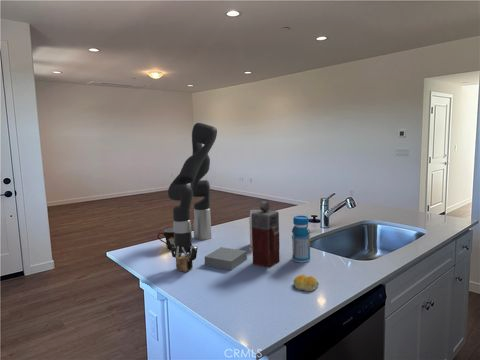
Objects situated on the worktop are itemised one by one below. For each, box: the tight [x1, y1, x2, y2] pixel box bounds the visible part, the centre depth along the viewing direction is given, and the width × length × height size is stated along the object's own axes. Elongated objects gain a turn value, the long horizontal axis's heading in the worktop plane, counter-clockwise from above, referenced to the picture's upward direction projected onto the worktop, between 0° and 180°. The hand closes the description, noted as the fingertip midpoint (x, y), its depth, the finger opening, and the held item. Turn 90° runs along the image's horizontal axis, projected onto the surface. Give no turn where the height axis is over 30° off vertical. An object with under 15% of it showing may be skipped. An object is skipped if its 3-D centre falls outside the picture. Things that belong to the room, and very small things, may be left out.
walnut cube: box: [175, 254, 194, 273], centre depth 143 cm, size 5×5×5 cm
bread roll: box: [293, 274, 319, 292], centre depth 123 cm, size 8×9×4 cm
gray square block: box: [204, 246, 248, 271], centre depth 150 cm, size 14×14×4 cm
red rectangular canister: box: [251, 201, 281, 269], centre depth 146 cm, size 9×11×28 cm
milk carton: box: [248, 209, 261, 248], centre depth 171 cm, size 7×7×19 cm
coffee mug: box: [157, 227, 177, 251], centre depth 172 cm, size 12×9×10 cm
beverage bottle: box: [291, 214, 312, 263], centre depth 149 cm, size 8×8×20 cm
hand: (184, 267), depth 143 cm, fingers closed on walnut cube, 5 cm apart
